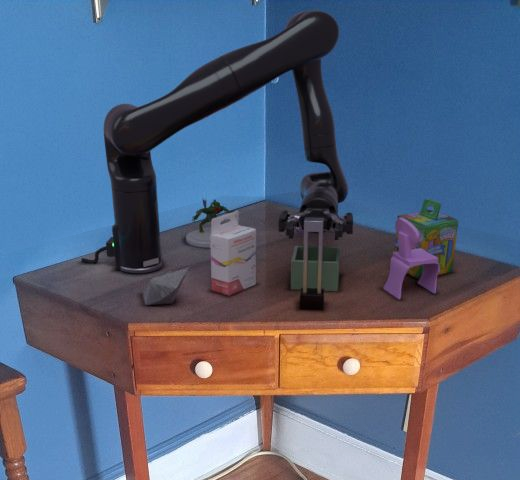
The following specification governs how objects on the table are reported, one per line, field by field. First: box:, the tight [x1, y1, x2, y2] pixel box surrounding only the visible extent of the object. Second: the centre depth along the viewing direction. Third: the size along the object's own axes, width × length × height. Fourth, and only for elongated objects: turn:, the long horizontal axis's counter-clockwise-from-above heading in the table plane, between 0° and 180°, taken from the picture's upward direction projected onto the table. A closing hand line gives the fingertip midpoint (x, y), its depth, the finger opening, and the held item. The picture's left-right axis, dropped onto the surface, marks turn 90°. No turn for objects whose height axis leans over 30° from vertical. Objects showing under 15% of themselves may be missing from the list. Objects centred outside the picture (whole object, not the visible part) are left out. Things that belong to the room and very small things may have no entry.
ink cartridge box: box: [210, 210, 257, 297], centre depth 160 cm, size 9×5×15 cm, turn 141°
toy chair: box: [382, 217, 439, 300], centre depth 157 cm, size 8×9×15 cm
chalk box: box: [393, 198, 459, 281], centre depth 168 cm, size 9×9×15 cm
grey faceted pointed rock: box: [142, 267, 190, 306], centre depth 156 cm, size 12×6×9 cm
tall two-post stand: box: [299, 217, 325, 311], centre depth 150 cm, size 4×4×17 cm
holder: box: [290, 245, 342, 292], centre depth 164 cm, size 9×9×6 cm
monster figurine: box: [185, 197, 236, 249], centre depth 188 cm, size 12×12×10 cm
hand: (313, 234), depth 150 cm, fingers open, 8 cm apart
